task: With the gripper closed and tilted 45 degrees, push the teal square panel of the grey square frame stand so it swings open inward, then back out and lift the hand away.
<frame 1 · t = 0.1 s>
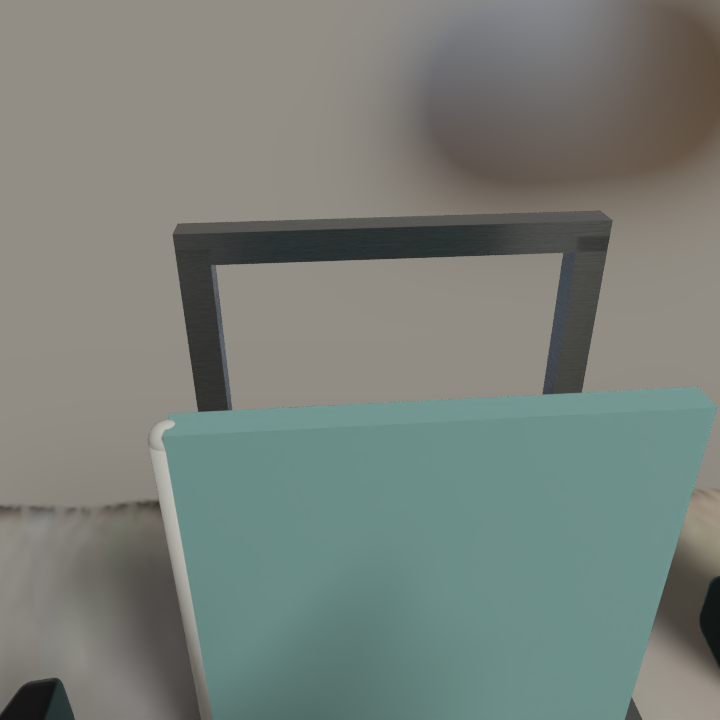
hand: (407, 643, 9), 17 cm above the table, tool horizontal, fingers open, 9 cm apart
teal square panel: (424, 594, 21), point 8 cm above the table, hinge at 0.0°
grey square frame stand: (400, 627, 29), on the table
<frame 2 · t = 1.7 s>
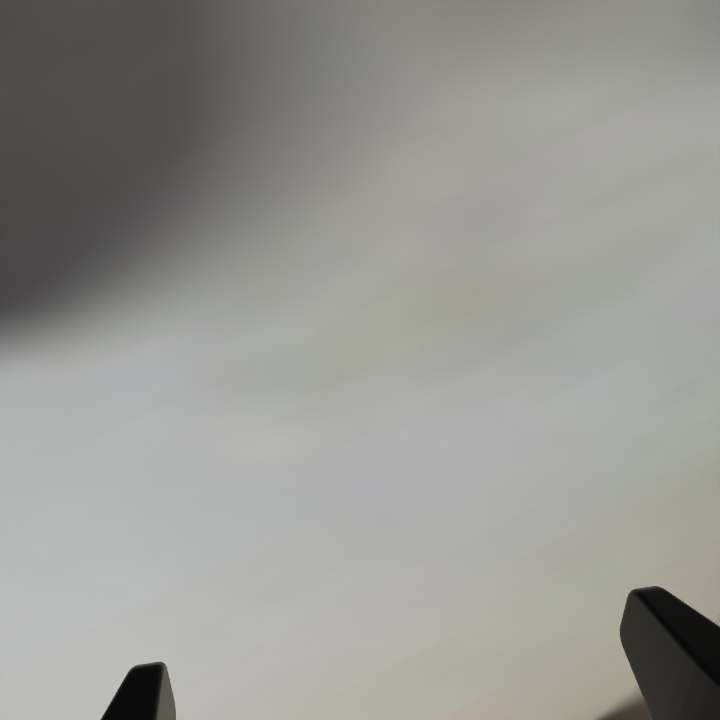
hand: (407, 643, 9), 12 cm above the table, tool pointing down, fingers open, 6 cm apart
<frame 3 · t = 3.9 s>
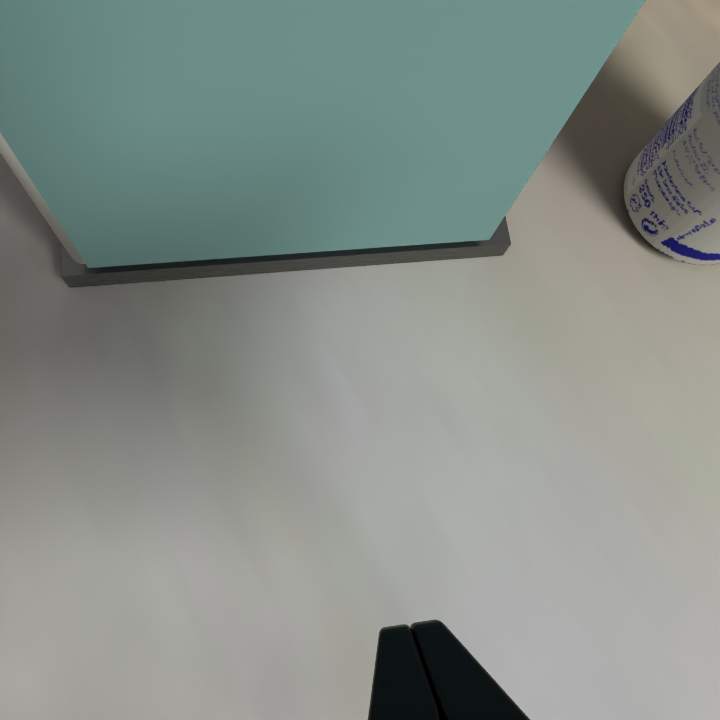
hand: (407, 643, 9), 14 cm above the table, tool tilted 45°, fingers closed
teal square panel: (292, 125, 18), point 8 cm above the table, hinge at 0.0°
grey square frame stand: (280, 130, 27), on the table
beverage can: (680, 209, 28), on the table
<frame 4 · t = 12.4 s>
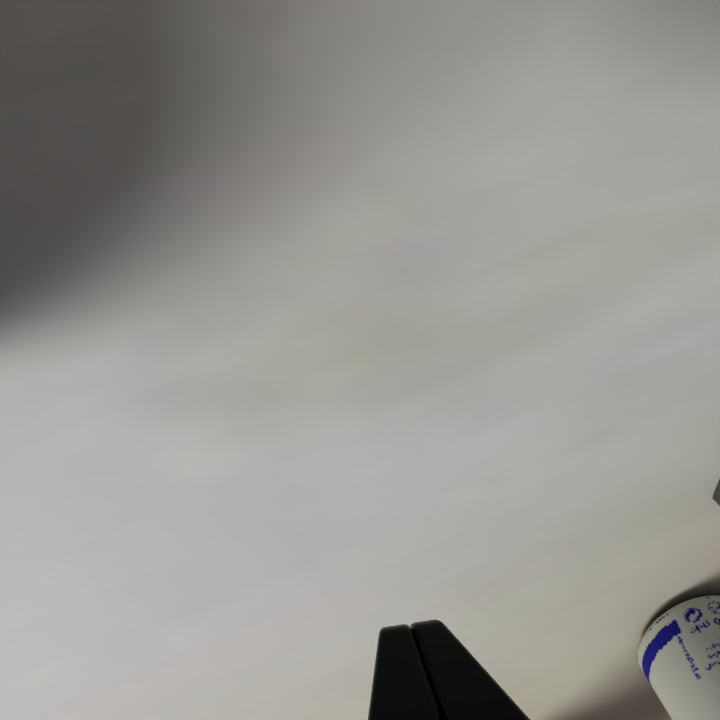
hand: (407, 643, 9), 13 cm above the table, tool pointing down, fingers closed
beverage can: (685, 627, 32), on the table
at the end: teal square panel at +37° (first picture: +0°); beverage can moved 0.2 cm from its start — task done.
